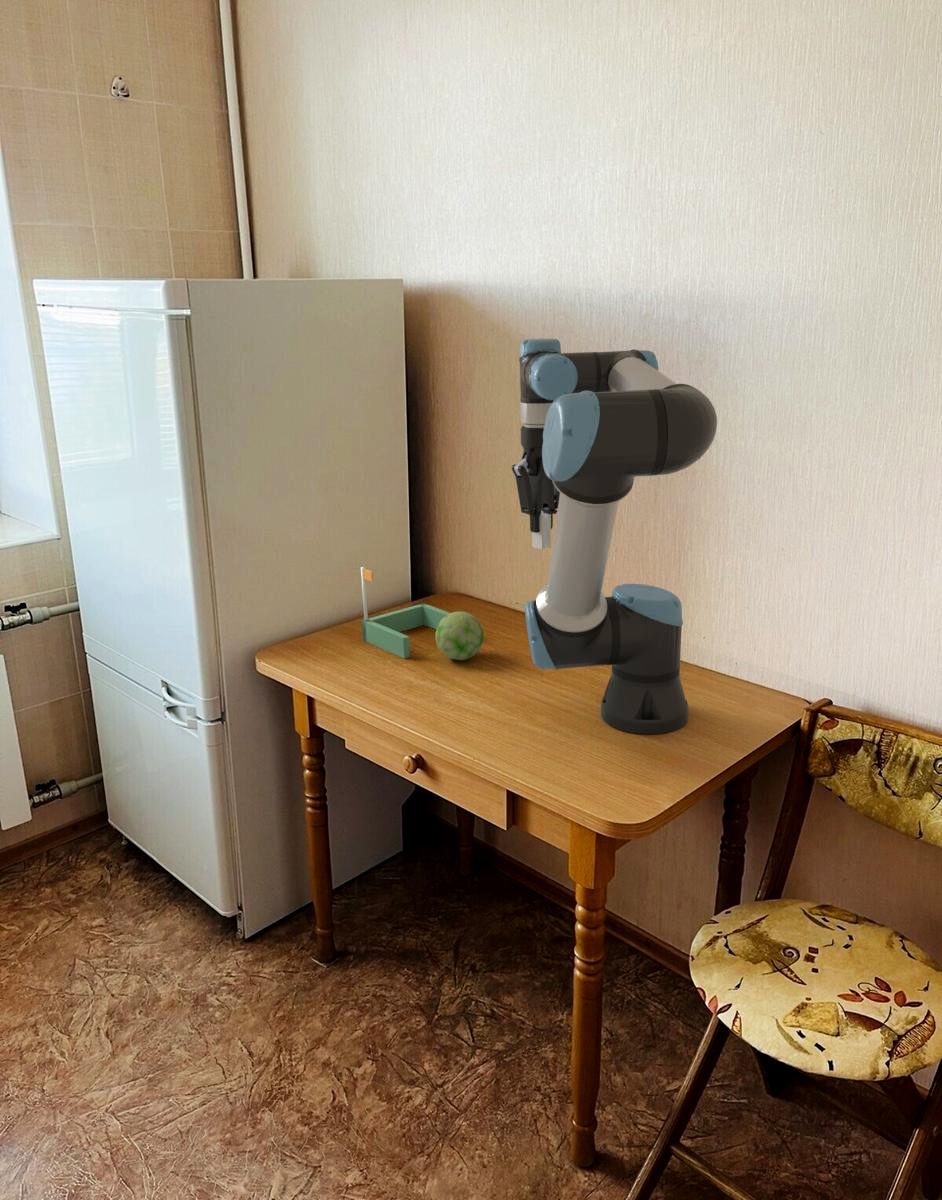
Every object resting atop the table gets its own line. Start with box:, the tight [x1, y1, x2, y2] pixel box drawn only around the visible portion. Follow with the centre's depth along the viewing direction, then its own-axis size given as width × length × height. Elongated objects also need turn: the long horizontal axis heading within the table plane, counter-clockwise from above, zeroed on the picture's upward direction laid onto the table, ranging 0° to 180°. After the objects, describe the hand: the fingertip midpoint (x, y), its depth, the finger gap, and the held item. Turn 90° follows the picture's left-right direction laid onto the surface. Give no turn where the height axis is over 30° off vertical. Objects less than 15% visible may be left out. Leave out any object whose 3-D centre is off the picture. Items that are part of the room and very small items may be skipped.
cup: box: [360, 566, 451, 660], centre depth 206 cm, size 16×17×16 cm
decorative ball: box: [434, 611, 485, 661], centre depth 195 cm, size 10×10×10 cm
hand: (541, 547), depth 185 cm, fingers closed
